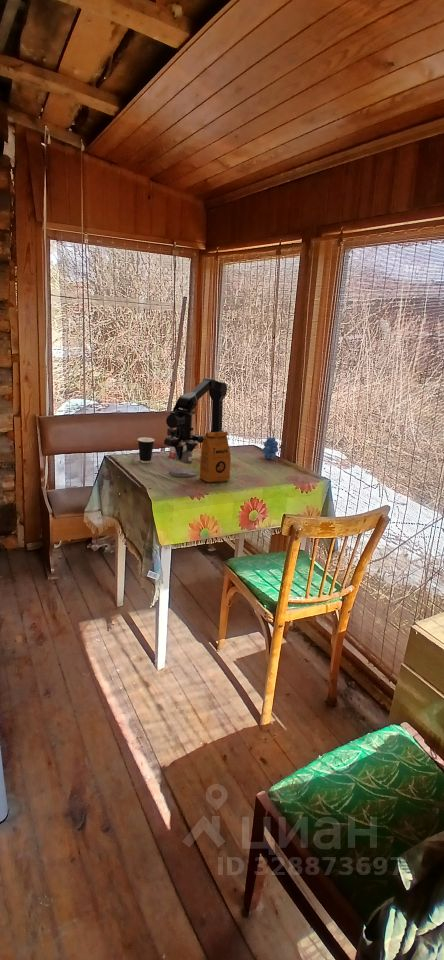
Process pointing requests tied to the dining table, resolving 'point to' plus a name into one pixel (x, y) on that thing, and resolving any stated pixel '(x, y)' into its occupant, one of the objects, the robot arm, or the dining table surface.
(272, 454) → the grapes
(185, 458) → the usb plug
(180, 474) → the gray plate
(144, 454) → the dixie cup
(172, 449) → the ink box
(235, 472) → the dining table surface
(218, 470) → the coffee package
